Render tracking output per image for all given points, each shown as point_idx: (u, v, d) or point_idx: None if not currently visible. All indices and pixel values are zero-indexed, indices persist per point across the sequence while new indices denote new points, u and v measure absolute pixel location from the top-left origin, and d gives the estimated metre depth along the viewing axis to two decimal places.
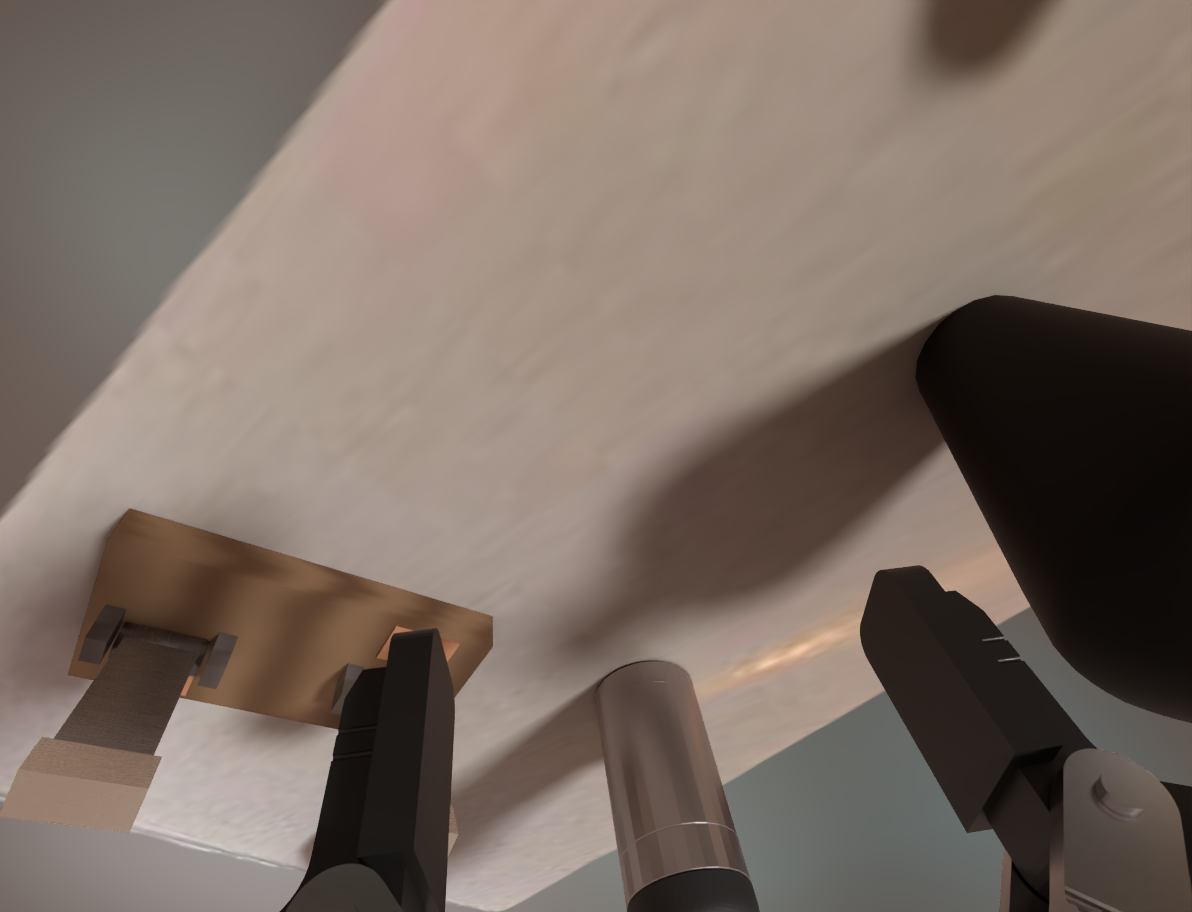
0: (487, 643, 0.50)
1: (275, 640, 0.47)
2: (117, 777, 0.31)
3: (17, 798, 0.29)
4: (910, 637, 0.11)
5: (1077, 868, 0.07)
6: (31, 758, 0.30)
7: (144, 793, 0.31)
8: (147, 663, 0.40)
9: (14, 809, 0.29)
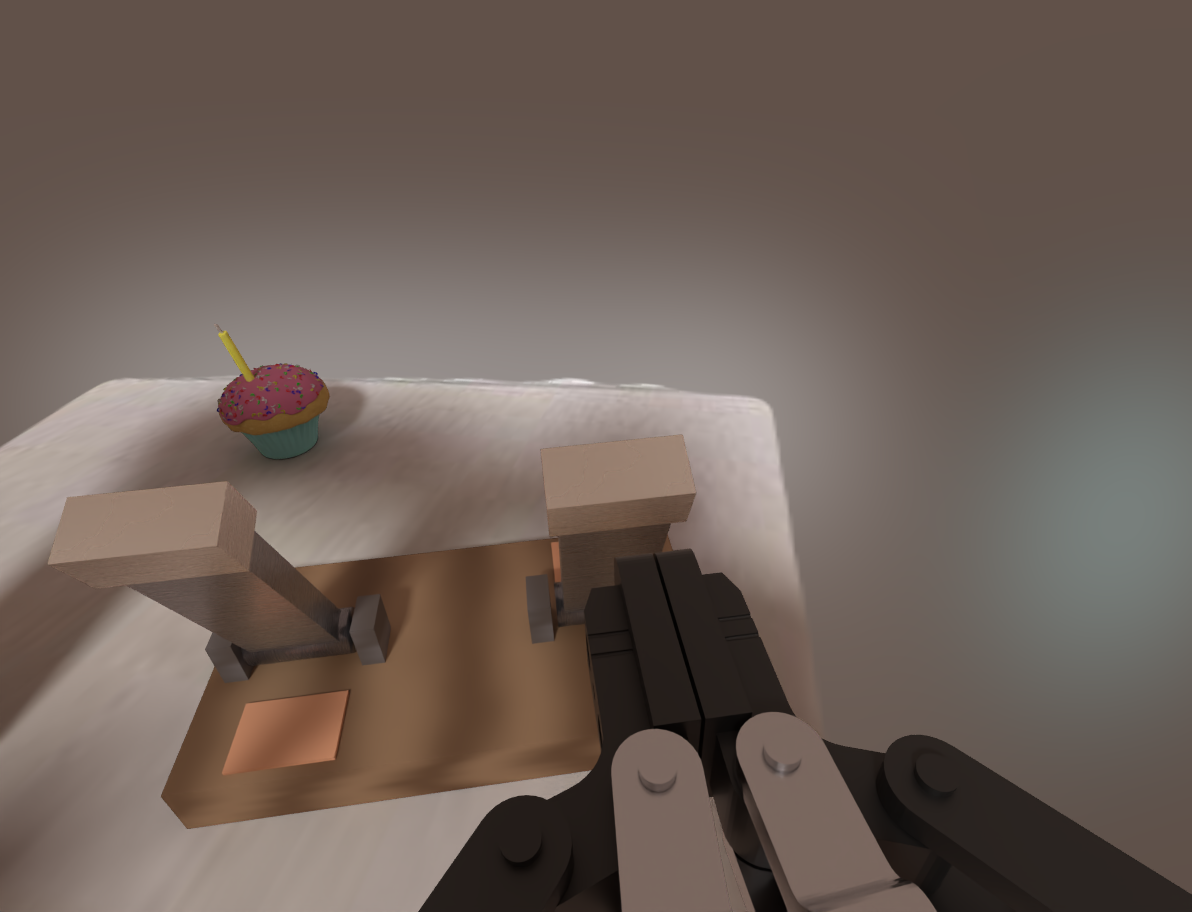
0: (172, 796, 0.29)
1: (488, 658, 0.35)
2: (588, 510, 0.23)
3: (676, 459, 0.23)
4: None
5: (789, 856, 0.08)
6: (687, 503, 0.23)
7: (548, 501, 0.22)
8: None
9: (672, 446, 0.24)
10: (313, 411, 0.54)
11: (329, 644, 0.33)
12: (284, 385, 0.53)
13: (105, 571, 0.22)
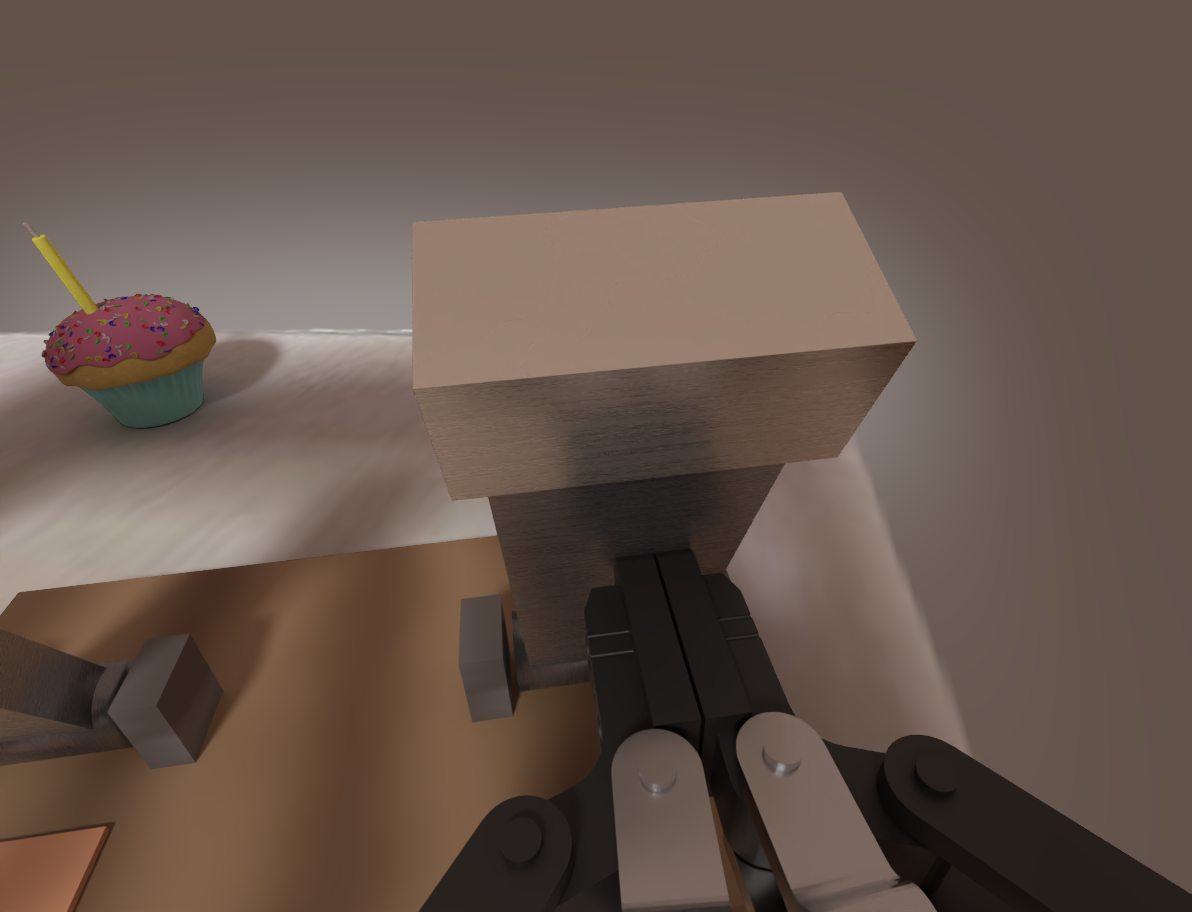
0: None
1: (388, 752, 0.19)
2: (559, 400, 0.07)
3: (836, 251, 0.07)
4: None
5: (789, 856, 0.08)
6: (869, 389, 0.08)
7: (420, 365, 0.06)
8: None
9: (816, 219, 0.08)
10: (184, 358, 0.38)
11: (73, 735, 0.17)
12: (140, 318, 0.37)
13: None
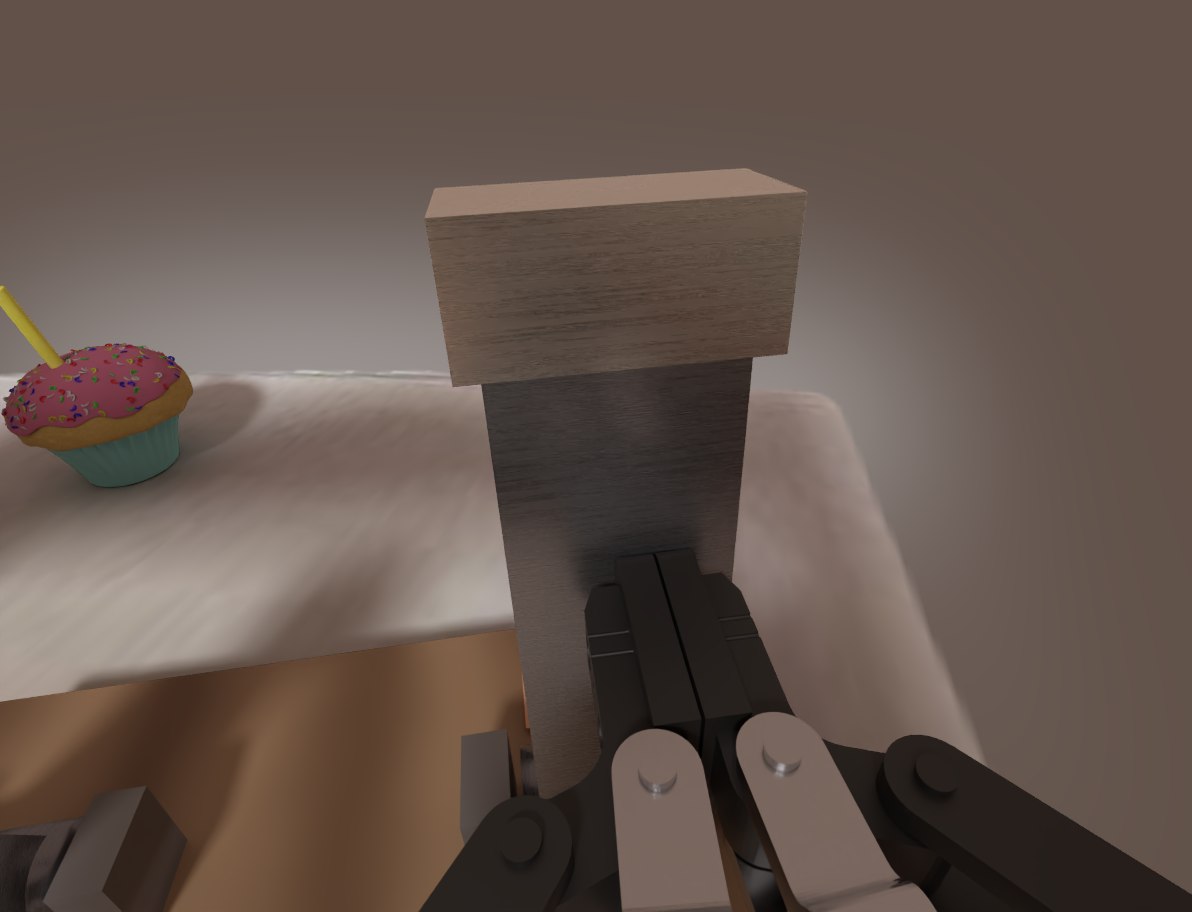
0: None
1: None
2: (537, 243, 0.09)
3: (743, 178, 0.10)
4: None
5: (789, 856, 0.08)
6: (787, 253, 0.09)
7: (431, 214, 0.09)
8: None
9: (728, 173, 0.11)
10: (157, 414, 0.35)
11: None
12: (109, 373, 0.34)
13: None
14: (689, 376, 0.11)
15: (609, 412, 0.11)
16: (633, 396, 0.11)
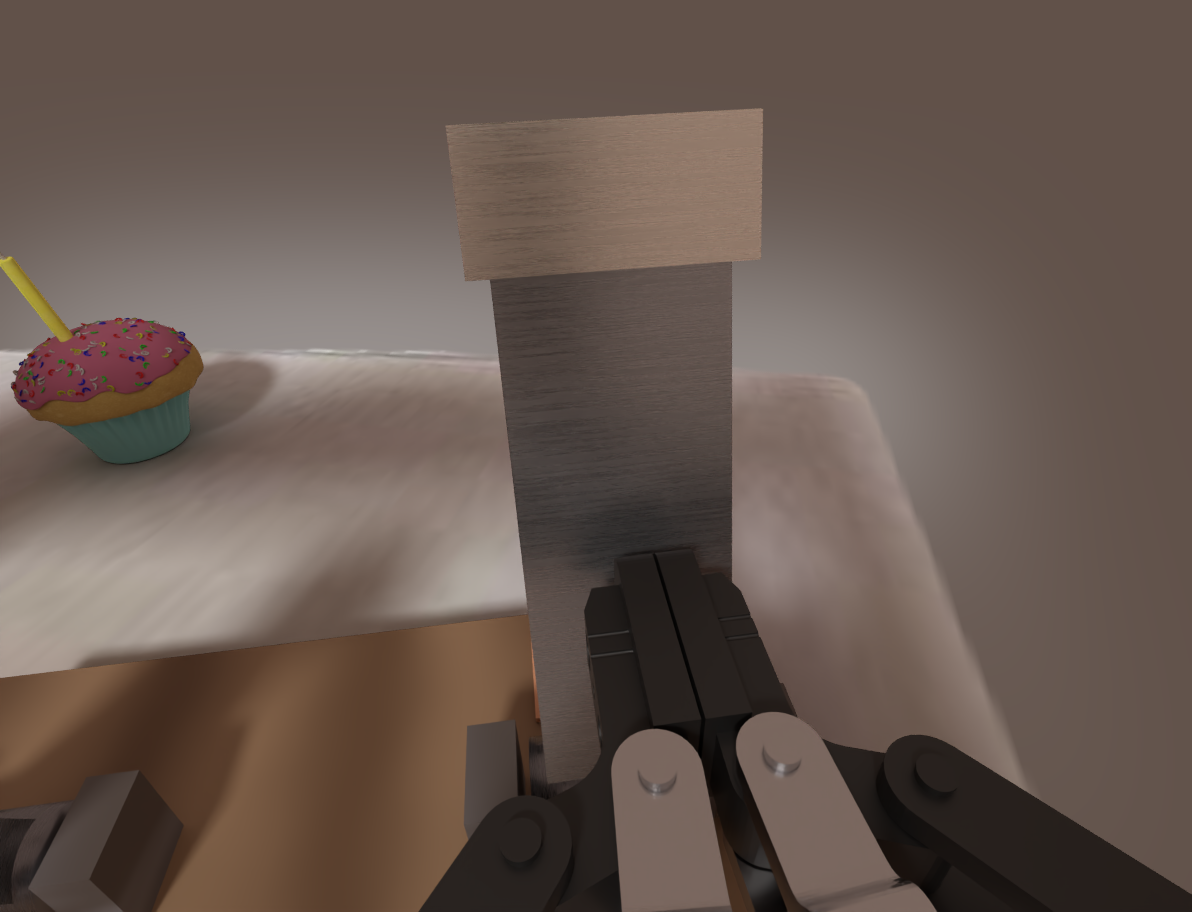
0: None
1: None
2: (538, 149, 0.11)
3: None
4: None
5: (789, 857, 0.08)
6: (751, 163, 0.11)
7: None
8: None
9: None
10: (167, 389, 0.35)
11: None
12: (118, 347, 0.34)
13: None
14: (675, 287, 0.12)
15: (605, 320, 0.12)
16: (626, 305, 0.12)
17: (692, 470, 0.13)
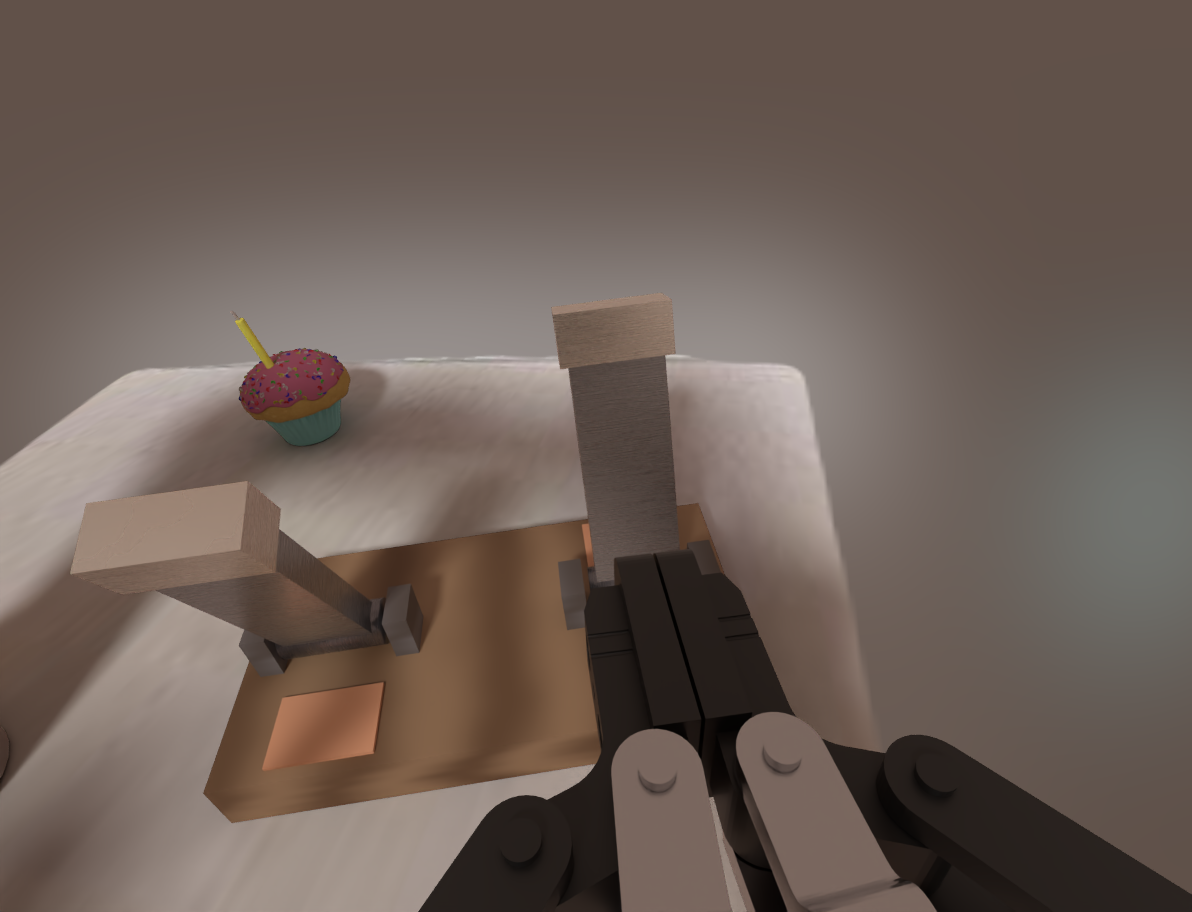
0: (215, 793, 0.29)
1: (523, 645, 0.34)
2: (587, 320, 0.28)
3: (656, 296, 0.30)
4: None
5: (789, 857, 0.08)
6: (668, 319, 0.29)
7: (554, 314, 0.28)
8: (639, 532, 0.33)
9: (653, 295, 0.30)
10: (334, 396, 0.53)
11: (362, 636, 0.33)
12: (304, 370, 0.52)
13: (129, 578, 0.21)
14: (642, 364, 0.30)
15: (614, 379, 0.30)
16: (623, 373, 0.30)
17: (654, 438, 0.31)
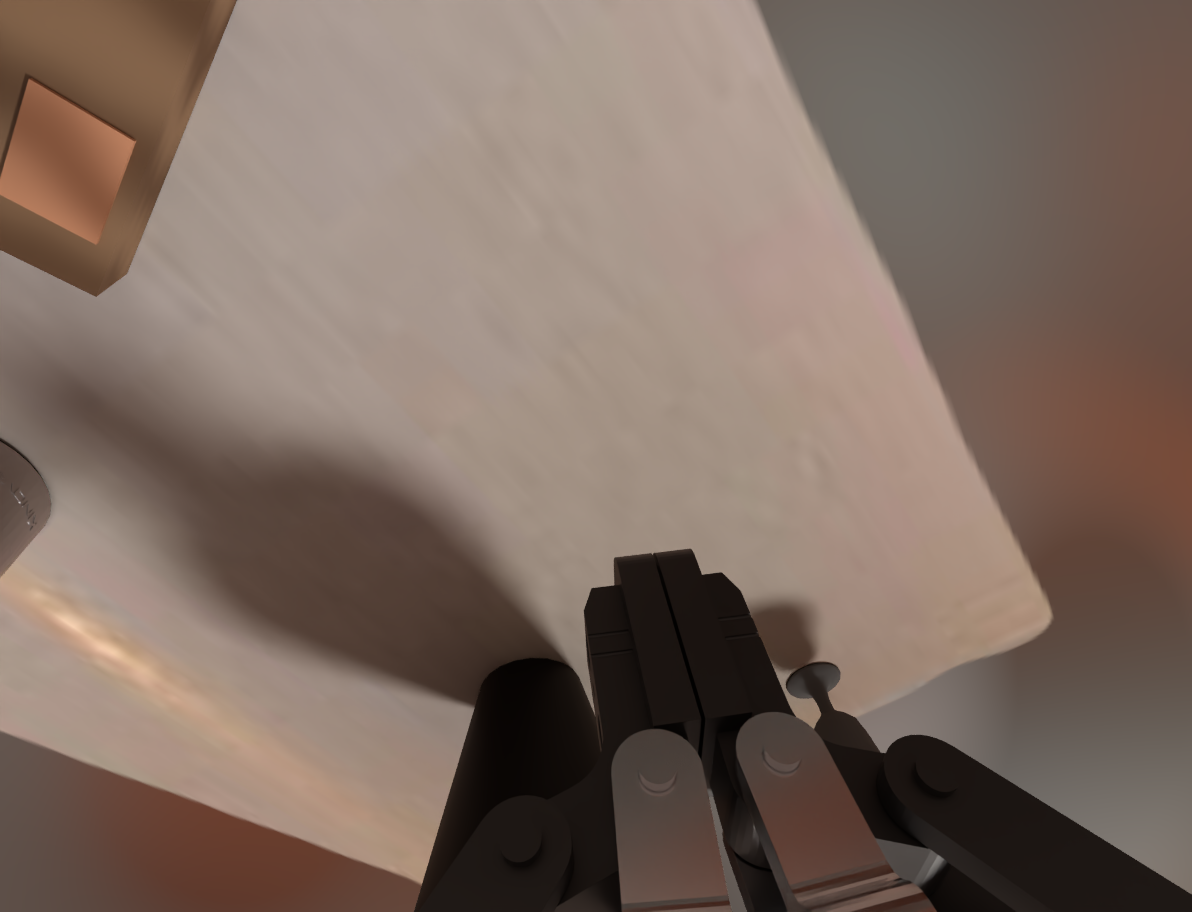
0: (100, 287, 0.29)
1: None
2: None
3: None
4: None
5: (789, 857, 0.08)
6: None
7: None
8: None
9: None
10: None
11: None
12: None
13: None
14: None
15: None
16: None
17: None
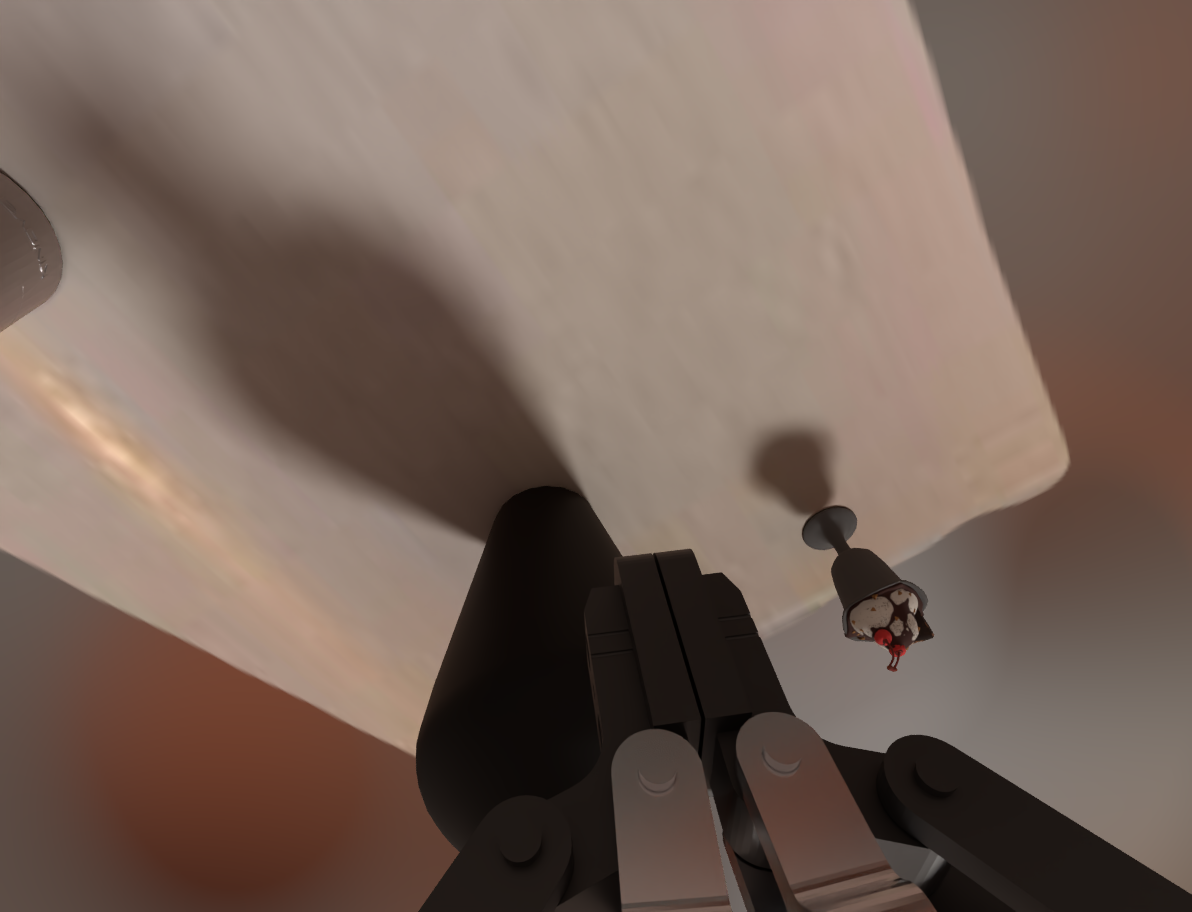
0: None
1: None
2: None
3: None
4: None
5: (789, 856, 0.08)
6: None
7: None
8: None
9: None
10: None
11: None
12: None
13: None
14: None
15: None
16: None
17: None
